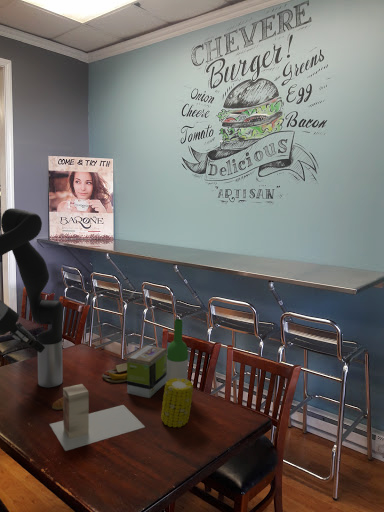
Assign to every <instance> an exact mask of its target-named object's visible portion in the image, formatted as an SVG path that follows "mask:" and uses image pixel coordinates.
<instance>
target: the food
mask: <svg viewBox="0 0 384 512" xmlns="http://www.w3.org/2000/svg"><path fill="white" fill-rule="evenodd" d="M163 390H164V392H163V397H162V400H163V401H162V404H161V405H162V407H161V414H160V415H161V416H160V417H161V418H160V419H161V421H162V422H163V424H164V425H165V426H168V427H169V428H181V427H182V426H185V425H186V424H188V422H189V418H190V413H191V407H192V403H193V402H192V401H193V400H192V398H193V395H194V394H193V391H194V385H193V382H192V381H191V380H190V379H187V380H186V379H182V380H181V379H180V378H178V379H176V378H173V379H170V380H169V381H167V382H166V384H164V389H163Z"/></svg>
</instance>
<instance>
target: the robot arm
mask: <svg viewBox="0 0 384 512" xmlns="http://www.w3.org/2000/svg"><path fill="white" fill-rule="evenodd" d="M0 219H1V222H0V225H1V229H2V232H3V233H2V234H1V233H0V257H2V256H3V255H6V254H7V253H9V252H12V254H13V256H14V259H15V263H16V265H17V268H18V271H19V276H20V277H21V280H22V283H23V285H24V289H25V292H26V296H27V298H28V299H27V300H28V303H29V308H30V313H31V317H32V320H33V321H34V323H36V324H38V325H50V326H51V328H49V329H47V330H44V331H43V330H42V331H41V332H40V333H38V334H37V338H35V336H34V335H32V333H31V332H30V330H28V329H27V328H26V327H24V325H23V324H22V323H21V322H18V321H19V320H20V315H19V313H18V312H16V311H15V310H14V309H12V308H11V307H10V306H9V305H8V304H6V303H5V302H3V301H2V300H1V299H0V336H5V335H6V334H8V333H9V334H10V335H11V337H12V338H14V339H15V340H18V341H19V342H20V343H22V344H24V345H26V346H27V347H28V348H32V349H34V351H35V350H36V351H37V383H38V384H37V385H38V386H39V387H41V388H42V387H43V388H53V387H57V386H60V385H61V384H62V383H63V375H64V374H63V373H64V372H63V371H64V370H63V327H64V326H63V325H64V323H63V322H64V305H63V303H62V301H60V300H48V299H47V300H46V299H42V296H41V294H42V293H43V291H44V289H45V288H46V286H47V285H48V282H49V279H50V274H49V270H48V266H47V263H46V260H45V259H44V257H43V256H42V255H41V254H40V252H39V251H38V250H37V249H36V248H35V247H34V245H32V243H31V242H30V241H32V240H34V239H36V238H37V236H38V235H39V234H40V233H41V230H42V227H43V226H42V225H43V222H42V218H41V217H40V216H39V214H37V213H35V212H33V211H29V210H25V209H24V210H23V209H19V208H14V207H13V208H12V207H11V208H8V209H7V208H6V210H4V211H3V213H2V216H1V218H0Z"/></svg>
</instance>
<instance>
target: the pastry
mask: <svg viewBox="0 0 384 512" xmlns="http://www.w3.org/2000/svg"><path fill="white" fill-rule="evenodd" d="M51 408H52V409H53V410H56V411H59V410H63V396H62V397H61V398H59V399H57V400H55V401H54V402H53V403H52V406H51Z"/></svg>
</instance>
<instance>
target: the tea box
mask: <svg viewBox="0 0 384 512" xmlns="http://www.w3.org/2000/svg"><path fill="white" fill-rule="evenodd" d="M167 349H168V348H164V347H157V346H151V345H147V344H145V345H143V346H142V347H141V348H139V349H138V350H136V351H135V352H133V353H131V354H130V355H128V356H127V357H126V363H127V381H126V390H127V391H126V393H127V394H130V395H133V396H134V395H135V396H138V397H143V398H147V399H150V398H151V397H152V396H154V395H155V393H157V391H159V390H160V389H161V388H162V387H163V386H165V384H166V377H167Z"/></svg>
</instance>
